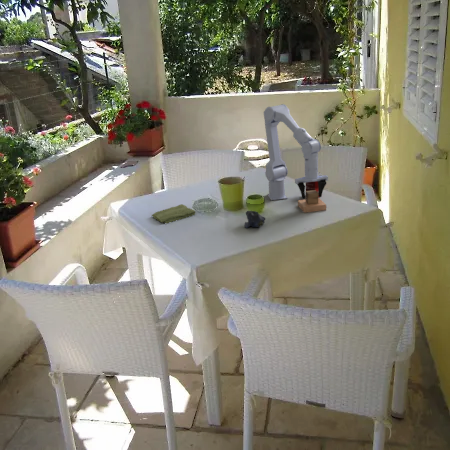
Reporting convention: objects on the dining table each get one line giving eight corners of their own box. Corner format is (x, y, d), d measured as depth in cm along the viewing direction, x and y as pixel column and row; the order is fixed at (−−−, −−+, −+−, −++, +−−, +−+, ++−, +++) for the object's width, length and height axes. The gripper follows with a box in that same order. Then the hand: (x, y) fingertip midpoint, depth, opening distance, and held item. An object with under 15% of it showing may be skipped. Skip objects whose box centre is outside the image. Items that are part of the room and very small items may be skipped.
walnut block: (305, 201, 220) (305, 191, 218) (315, 200, 220) (315, 190, 219) (308, 204, 216) (308, 194, 214) (318, 203, 216) (318, 192, 214)
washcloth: (150, 218, 223) (149, 211, 222) (184, 209, 232) (183, 202, 231) (162, 226, 213) (161, 219, 212) (197, 216, 221) (197, 209, 220)
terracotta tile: (297, 205, 223) (297, 200, 222) (319, 203, 224) (318, 197, 223) (304, 212, 214) (304, 207, 213) (326, 209, 215) (326, 204, 214)
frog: (252, 232, 197) (251, 216, 194) (238, 225, 206) (237, 209, 203) (270, 227, 201) (270, 211, 198) (256, 220, 210) (255, 204, 207)
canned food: (321, 193, 238) (321, 171, 234) (322, 198, 230) (322, 175, 226) (305, 193, 239) (304, 172, 235) (306, 198, 231) (305, 176, 227)
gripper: (297, 171, 208) (298, 201, 213) (330, 168, 209) (330, 198, 214) (293, 167, 215) (294, 197, 219) (325, 164, 216) (325, 193, 221)
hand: (311, 197), depth 217 cm, fingers open, 7 cm apart
